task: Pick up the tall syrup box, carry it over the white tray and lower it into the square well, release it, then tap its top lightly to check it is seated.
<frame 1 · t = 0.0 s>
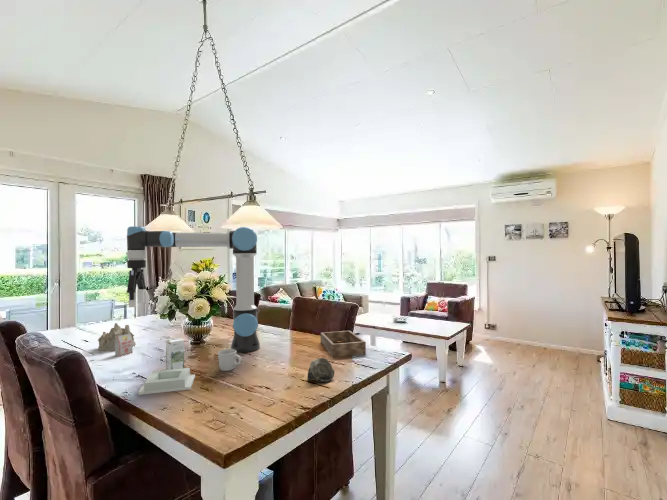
hand: (136, 304, 163), 28 cm above the table, fingers open, 13 cm apart
ceramic cottage: (117, 347, 194), on the table
white tray: (168, 385, 137), on the table
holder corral: (341, 348, 187), on the table
cup: (230, 370, 155), on the table
syrup box: (175, 373, 152), on the table
tea bag: (123, 354, 181), on the table
fossil: (320, 380, 142), on the table
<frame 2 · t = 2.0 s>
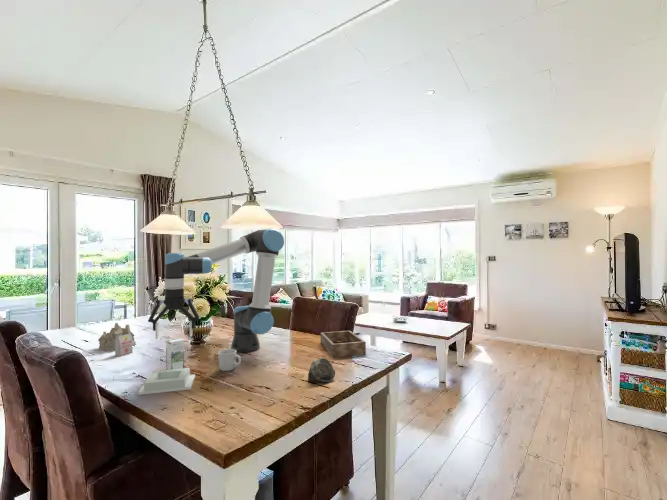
hand: (174, 337, 152), 15 cm above the table, fingers open, 13 cm apart
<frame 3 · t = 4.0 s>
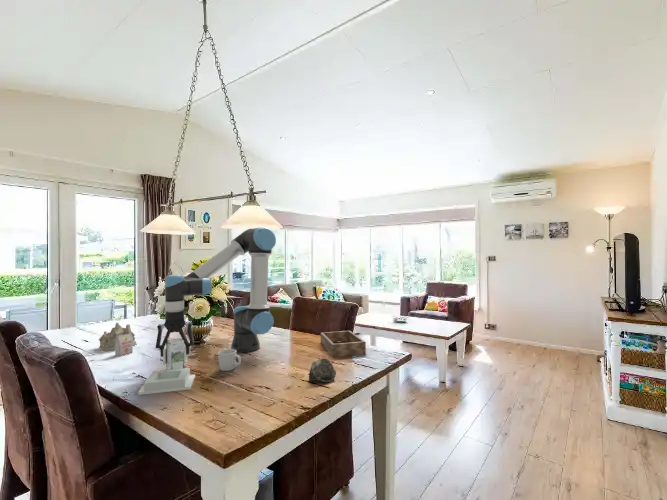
hand: (175, 362, 152), 4 cm above the table, fingers closed on syrup box, 8 cm apart
syrup box: (175, 373, 152), on the table, touching gripper
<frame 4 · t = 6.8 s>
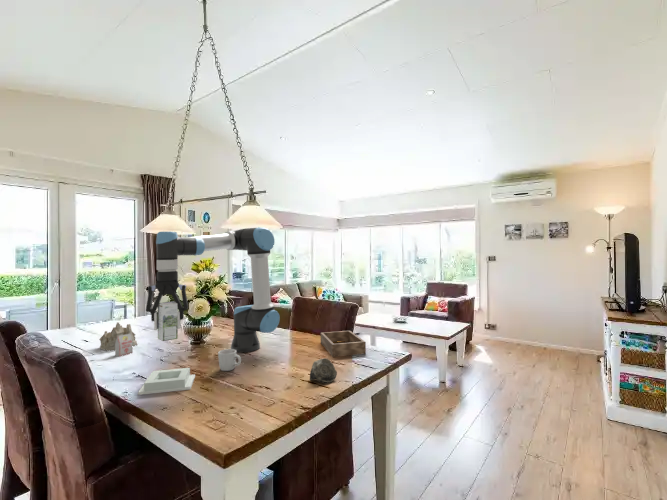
hand: (167, 328, 137), 22 cm above the table, fingers closed on syrup box, 8 cm apart
syrup box: (167, 339, 137), point 18 cm above the table, touching gripper
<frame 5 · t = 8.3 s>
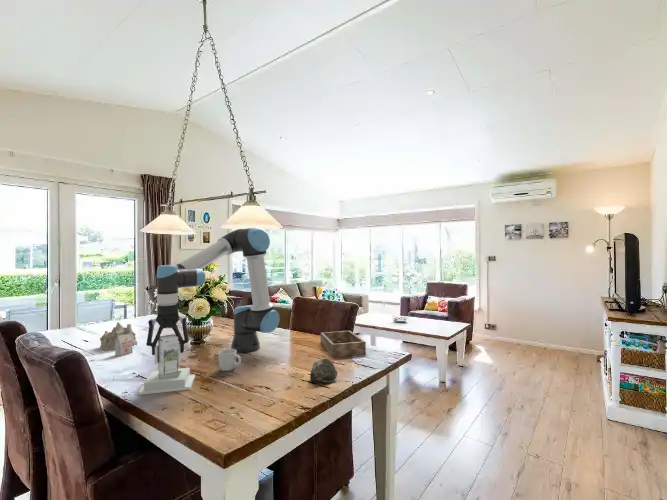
hand: (168, 361, 137), 9 cm above the table, fingers closed on syrup box, 8 cm apart
syrup box: (168, 373, 137), point 5 cm above the table, touching gripper
when the fingers open (6 cm above the table, at t = 9.8 s): syrup box stays where it is, resting on white tray.
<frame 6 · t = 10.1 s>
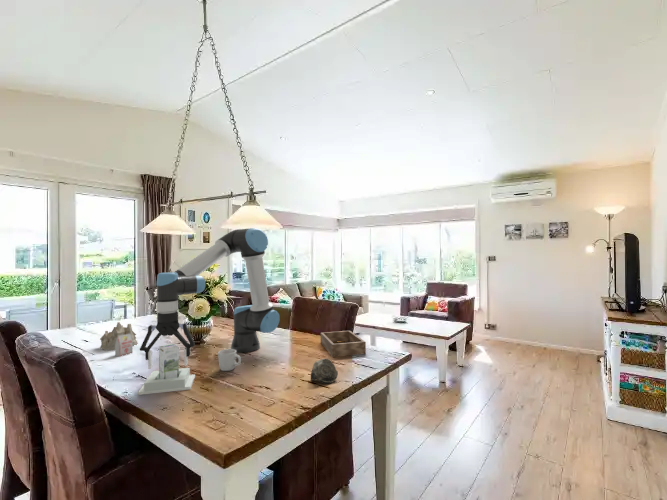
hand: (168, 366, 137), 7 cm above the table, fingers open, 12 cm apart
syrup box: (169, 383, 137), point 1 cm above the table, touching white tray
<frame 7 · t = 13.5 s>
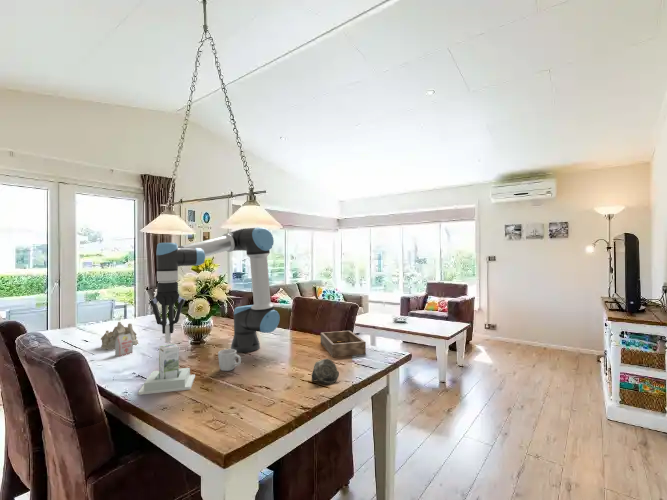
hand: (168, 341, 137), 17 cm above the table, fingers closed
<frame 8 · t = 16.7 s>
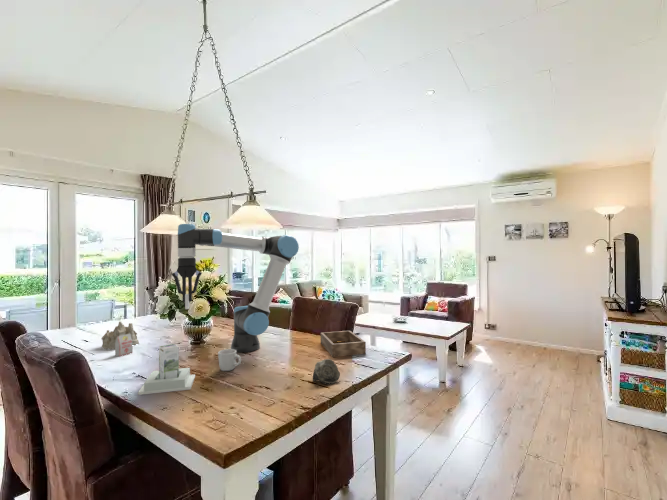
hand: (187, 308, 161), 26 cm above the table, fingers closed
at the end: syrup box 0.2 cm off-centre on the white tray, point 0.8 cm above the white tray's base; syrup box tilted 0°; the gripper is holding nothing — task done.
